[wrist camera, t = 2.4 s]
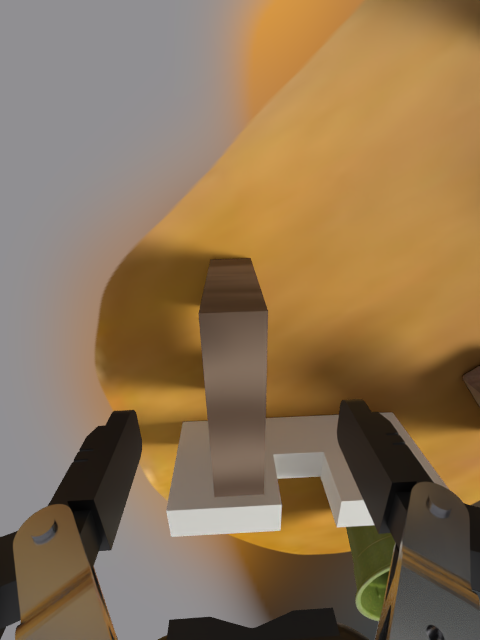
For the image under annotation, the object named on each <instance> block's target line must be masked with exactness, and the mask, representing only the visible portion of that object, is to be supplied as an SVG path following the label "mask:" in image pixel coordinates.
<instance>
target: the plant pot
mask: <svg viewBox="0 0 480 640" xmlns="http://www.w3.org/2000/svg"><path fill="white" fill-rule="evenodd" d="M346 529H347V534H348V538H349V543H350V548H351V552H352V556H353V562H354V575H355V579H356V585H357V593H356V597H355V602H356V606H357V608H358V610H359V611H360V612H361V613H362V614H363V615H364V616H366V617H368V618H370V619H372V620H376V621H379V620H380V616H381V611H382V607H383V602H384V596H385V591H386V586H387V581H388V576H389V570H390V565H391V560H392V555H393V549H394V546H395V541H394V539H393V537H392V535H391V533H384V534H378V532H377V529H376V527H375V525H370V526H352V527H346ZM471 590H472V589H471Z"/></svg>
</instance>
